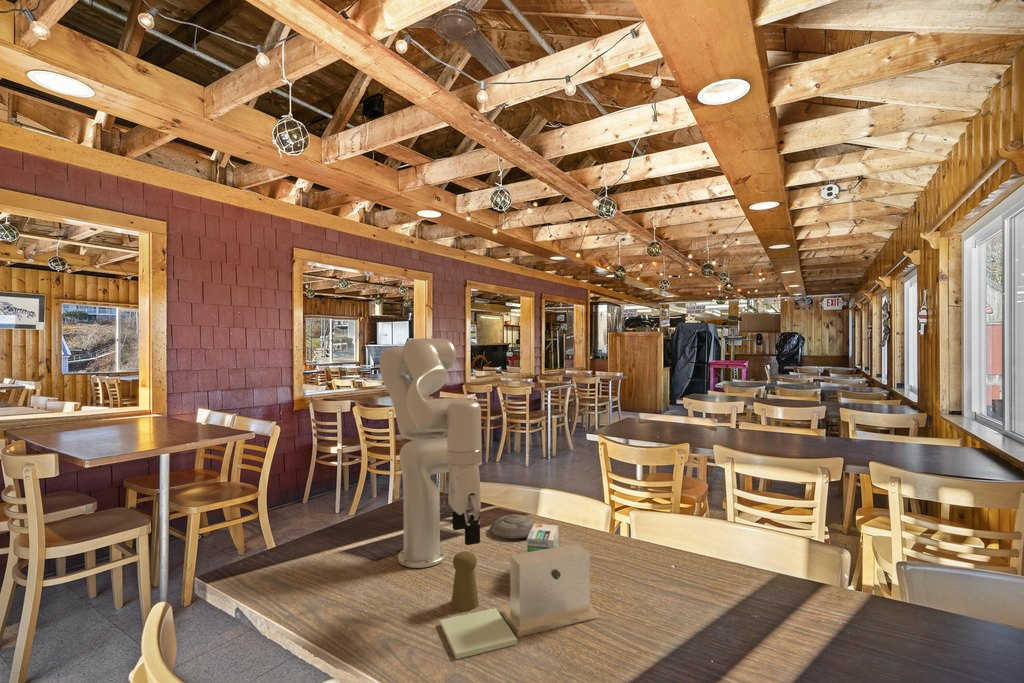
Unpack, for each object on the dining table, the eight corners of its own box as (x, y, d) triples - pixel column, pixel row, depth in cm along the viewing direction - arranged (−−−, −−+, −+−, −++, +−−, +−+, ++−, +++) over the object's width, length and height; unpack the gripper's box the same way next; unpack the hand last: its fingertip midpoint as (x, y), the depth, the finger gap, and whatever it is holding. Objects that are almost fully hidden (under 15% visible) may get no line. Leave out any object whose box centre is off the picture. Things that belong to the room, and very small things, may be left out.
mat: (440, 624, 101) (440, 619, 101) (495, 612, 105) (495, 608, 105) (456, 659, 90) (456, 653, 90) (517, 644, 94) (517, 638, 94)
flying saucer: (540, 542, 143) (540, 523, 144) (488, 542, 144) (488, 523, 144) (538, 524, 158) (537, 506, 159) (491, 524, 159) (491, 506, 159)
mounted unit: (500, 611, 106) (499, 549, 106) (574, 595, 112) (574, 537, 112) (518, 637, 96) (517, 569, 96) (597, 617, 103) (597, 554, 103)
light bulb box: (554, 586, 117) (554, 540, 117) (526, 583, 118) (526, 538, 118) (559, 566, 127) (559, 524, 127) (533, 564, 129) (533, 522, 129)
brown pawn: (451, 597, 112) (451, 548, 112) (478, 596, 112) (478, 547, 112) (450, 612, 106) (450, 560, 106) (479, 610, 106) (478, 559, 106)
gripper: (438, 452, 116) (439, 526, 115) (458, 467, 100) (460, 553, 99) (469, 449, 118) (470, 521, 118) (494, 463, 102) (495, 547, 102)
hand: (465, 536), depth 109 cm, fingers open, 9 cm apart
